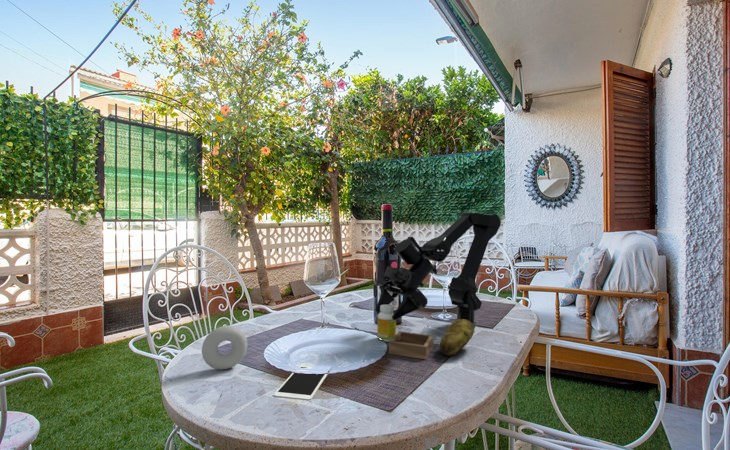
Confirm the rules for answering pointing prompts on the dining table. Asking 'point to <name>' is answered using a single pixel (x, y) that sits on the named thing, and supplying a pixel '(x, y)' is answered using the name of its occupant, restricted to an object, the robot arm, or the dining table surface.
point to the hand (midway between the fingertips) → (384, 314)
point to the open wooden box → (411, 345)
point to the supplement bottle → (386, 323)
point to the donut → (229, 359)
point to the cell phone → (300, 385)
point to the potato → (456, 336)
